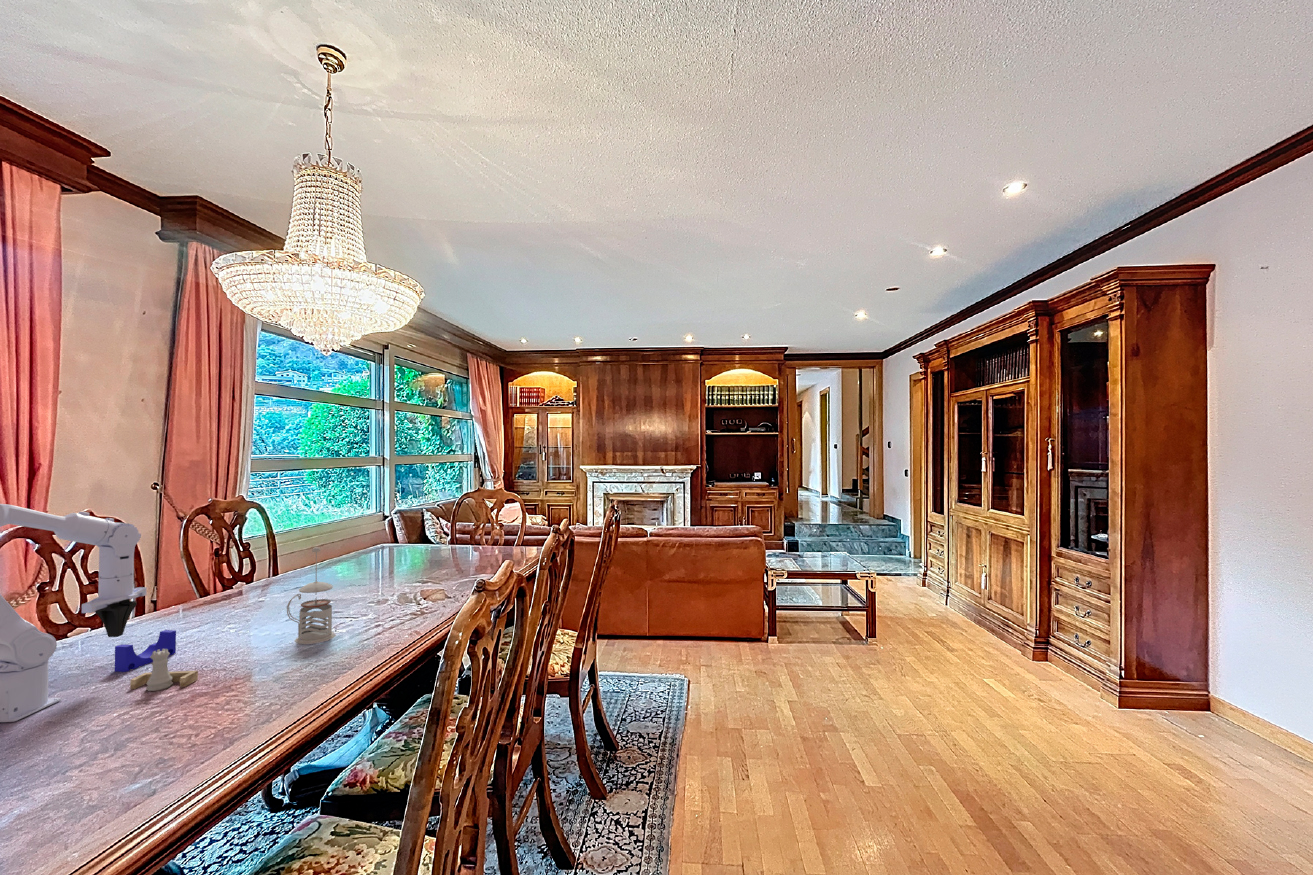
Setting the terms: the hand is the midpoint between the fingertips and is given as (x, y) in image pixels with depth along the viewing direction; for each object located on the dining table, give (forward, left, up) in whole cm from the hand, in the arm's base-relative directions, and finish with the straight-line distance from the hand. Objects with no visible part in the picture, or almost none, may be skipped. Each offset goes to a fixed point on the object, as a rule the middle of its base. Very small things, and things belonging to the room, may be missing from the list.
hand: (115, 635), depth 127 cm
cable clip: (+11, +2, -10) cm, 15 cm away
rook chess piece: (-5, -13, -10) cm, 17 cm away
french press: (+25, -30, -10) cm, 40 cm away
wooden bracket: (-4, -13, -10) cm, 17 cm away
